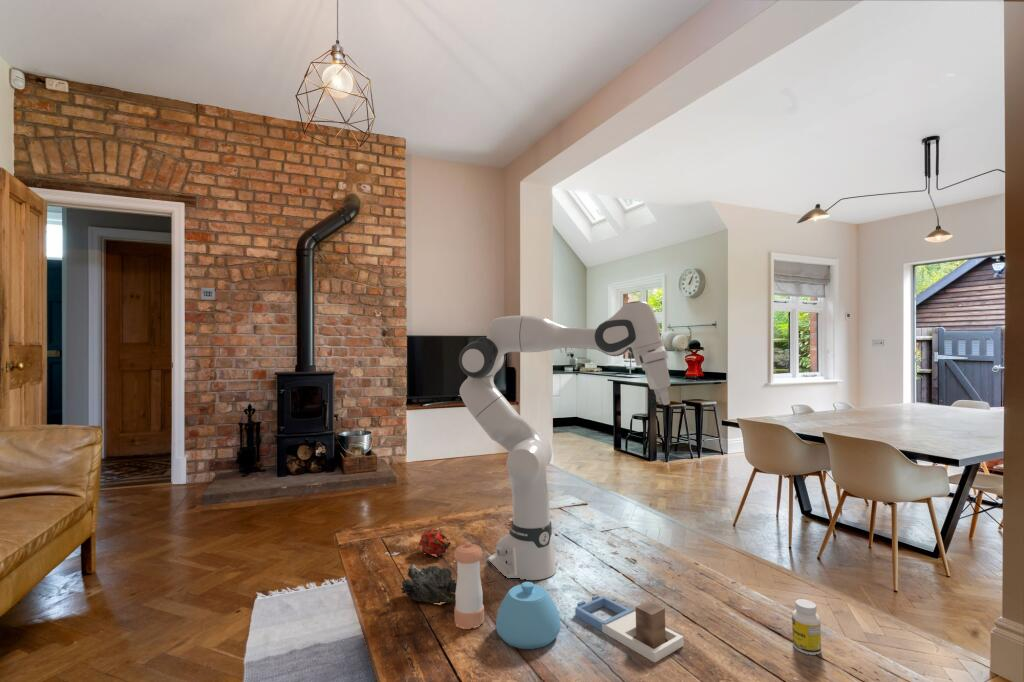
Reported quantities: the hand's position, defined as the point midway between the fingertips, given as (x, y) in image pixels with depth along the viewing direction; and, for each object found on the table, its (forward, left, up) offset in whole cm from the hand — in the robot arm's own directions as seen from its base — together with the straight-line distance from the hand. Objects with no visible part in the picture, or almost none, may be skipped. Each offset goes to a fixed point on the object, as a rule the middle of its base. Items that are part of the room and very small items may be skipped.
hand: (664, 404), depth 144 cm
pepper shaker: (-18, -54, -50) cm, 75 cm away
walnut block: (+15, -27, -50) cm, 59 cm away
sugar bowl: (-5, -46, -50) cm, 68 cm away
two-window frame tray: (+8, -27, -50) cm, 57 cm away
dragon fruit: (-60, -41, -50) cm, 88 cm away
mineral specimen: (-34, -56, -50) cm, 82 cm away
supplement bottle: (+37, -2, -50) cm, 62 cm away
